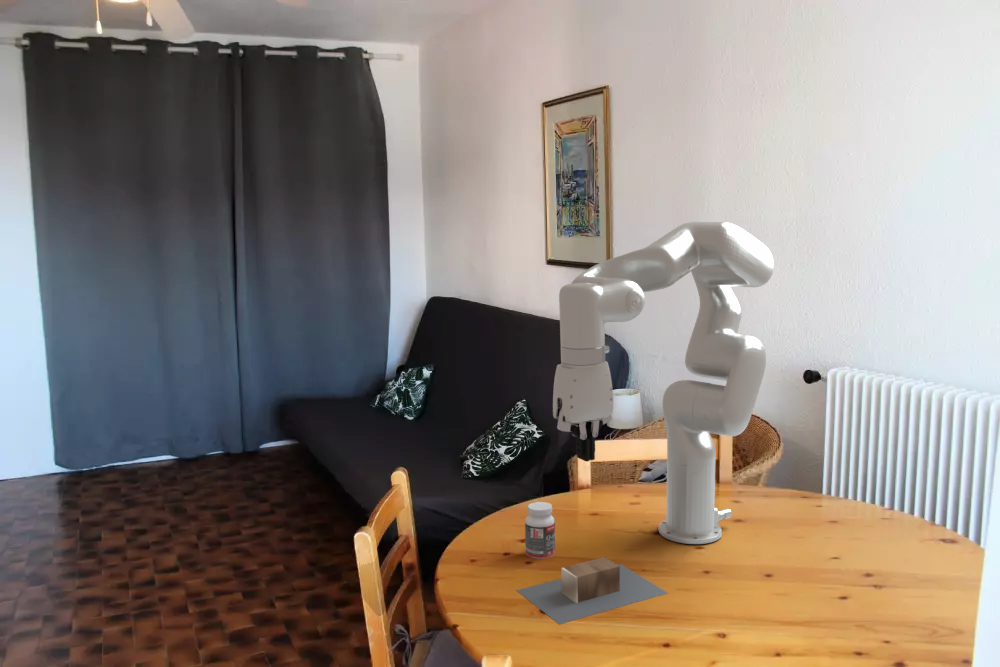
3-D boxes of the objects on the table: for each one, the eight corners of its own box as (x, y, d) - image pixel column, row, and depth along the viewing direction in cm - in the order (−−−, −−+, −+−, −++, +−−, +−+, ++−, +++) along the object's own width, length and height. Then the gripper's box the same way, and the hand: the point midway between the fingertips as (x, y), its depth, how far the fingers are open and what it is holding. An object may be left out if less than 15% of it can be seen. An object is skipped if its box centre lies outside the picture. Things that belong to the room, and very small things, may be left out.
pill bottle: (552, 562, 159) (552, 512, 158) (523, 560, 160) (522, 510, 159) (556, 550, 165) (556, 501, 163) (528, 548, 166) (527, 500, 164)
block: (561, 592, 145) (604, 581, 149) (575, 603, 141) (619, 591, 145) (561, 567, 144) (604, 557, 149) (575, 577, 140) (619, 566, 145)
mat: (619, 566, 157) (619, 563, 156) (668, 596, 144) (668, 592, 144) (516, 593, 146) (516, 590, 146) (559, 627, 134) (559, 624, 134)
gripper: (605, 347, 151) (607, 445, 154) (534, 358, 143) (538, 461, 147) (631, 353, 144) (633, 456, 147) (558, 365, 137) (562, 473, 140)
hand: (585, 458), depth 147 cm, fingers closed
